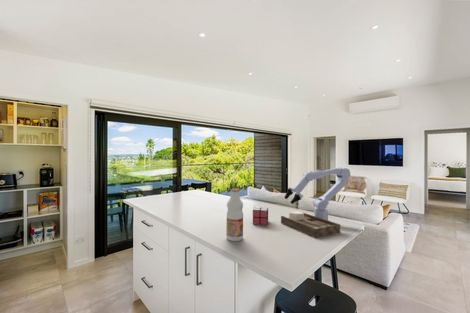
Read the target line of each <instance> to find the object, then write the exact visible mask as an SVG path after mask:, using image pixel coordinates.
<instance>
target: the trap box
mask: <svg viewBox="0 0 470 313" xmlns="http://www.w3.org/2000/svg"><path fill="white" fill-rule="evenodd" d="M303 213H304V219H302V220H294V219H291V218H289V217H287V216H284V215H280V224H282V225H284V226H287V227H289V228H291V229H294V230H296V231H297V232H301V233H303V234H306V235H308V236H309V237H312V238H315V239H316V238H320V237H321V238H322V237H325V236H326V237H327V236H330V235H331V236H332V235H335V234H340V233H341V223H340V224H339V223H337V222H334V221H331V220H329V219H328V220H324V219H321V218H318V217H315V216H314V215H311V214H308V213H305V212H303Z"/></svg>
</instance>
